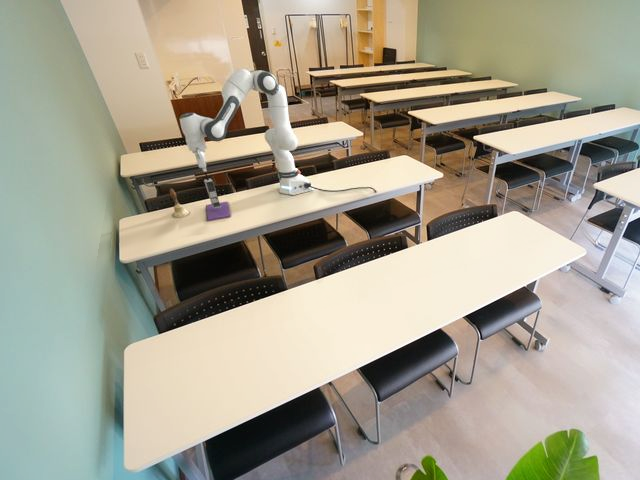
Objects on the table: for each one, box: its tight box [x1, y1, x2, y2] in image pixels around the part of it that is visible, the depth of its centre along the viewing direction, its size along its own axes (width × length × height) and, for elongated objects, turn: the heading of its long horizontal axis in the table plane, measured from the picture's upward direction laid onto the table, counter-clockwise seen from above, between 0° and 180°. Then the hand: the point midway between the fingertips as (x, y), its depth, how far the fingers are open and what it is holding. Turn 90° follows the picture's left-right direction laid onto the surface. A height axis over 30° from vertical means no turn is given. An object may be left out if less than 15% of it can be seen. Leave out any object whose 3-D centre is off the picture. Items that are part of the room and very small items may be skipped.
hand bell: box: [169, 188, 190, 218], centre depth 198 cm, size 8×8×16 cm
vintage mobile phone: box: [203, 171, 221, 209], centre depth 197 cm, size 4×5×25 cm
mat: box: [206, 201, 231, 221], centre depth 206 cm, size 12×22×1 cm, turn 27°
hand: (205, 170), depth 192 cm, fingers closed on vintage mobile phone
